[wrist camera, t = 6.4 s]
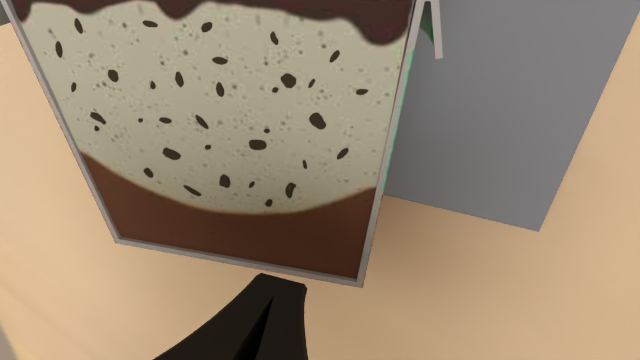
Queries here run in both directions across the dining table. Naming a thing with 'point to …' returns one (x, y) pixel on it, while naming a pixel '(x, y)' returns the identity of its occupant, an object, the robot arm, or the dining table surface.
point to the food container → (232, 120)
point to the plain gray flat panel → (503, 103)
